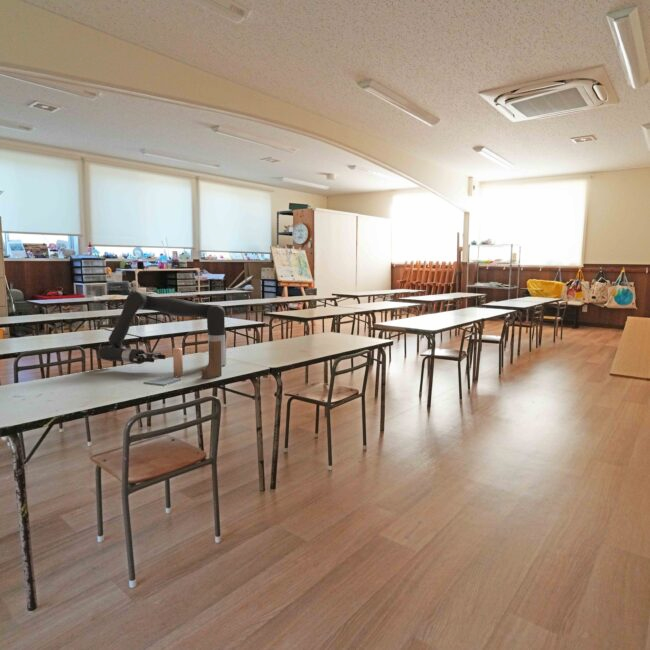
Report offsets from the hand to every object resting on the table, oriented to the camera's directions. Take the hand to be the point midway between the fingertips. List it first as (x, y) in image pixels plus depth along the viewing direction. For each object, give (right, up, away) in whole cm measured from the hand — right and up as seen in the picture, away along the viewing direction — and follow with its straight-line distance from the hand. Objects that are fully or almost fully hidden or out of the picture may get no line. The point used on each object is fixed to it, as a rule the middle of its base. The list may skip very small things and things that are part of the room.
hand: (159, 358), depth 235 cm
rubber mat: (+6, -10, -14) cm, 18 cm away
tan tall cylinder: (+10, -9, -3) cm, 14 cm away
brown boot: (+27, -9, -3) cm, 29 cm away
